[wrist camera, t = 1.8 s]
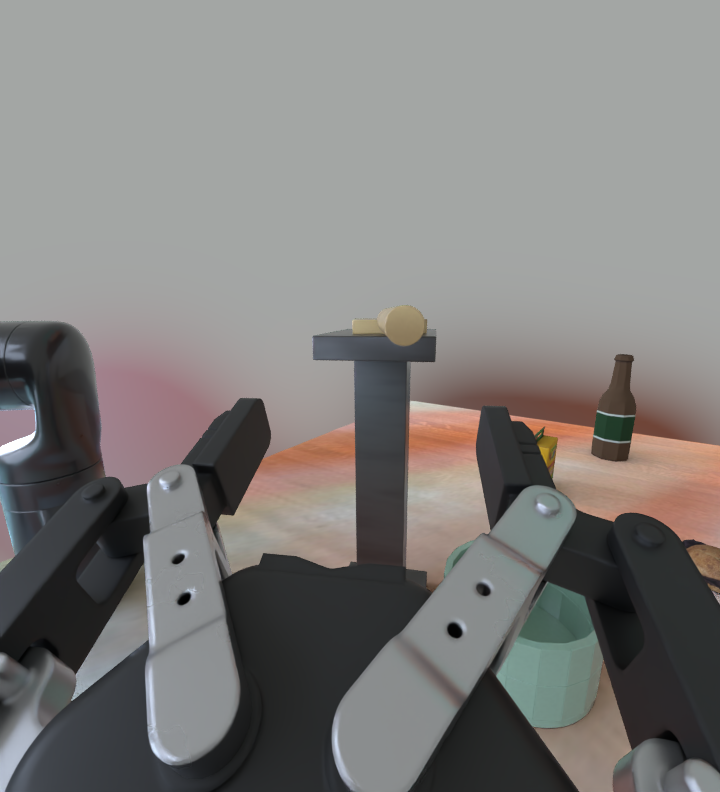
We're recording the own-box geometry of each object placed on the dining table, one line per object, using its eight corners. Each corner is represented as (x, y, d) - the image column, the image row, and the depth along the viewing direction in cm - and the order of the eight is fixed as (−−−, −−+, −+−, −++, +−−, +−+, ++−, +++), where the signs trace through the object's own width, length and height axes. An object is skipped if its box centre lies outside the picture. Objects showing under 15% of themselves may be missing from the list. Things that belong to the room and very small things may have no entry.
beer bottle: (619, 464, 81) (637, 358, 75) (583, 453, 87) (597, 354, 82) (635, 457, 85) (653, 355, 79) (599, 447, 91) (613, 352, 86)
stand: (350, 571, 48) (346, 329, 41) (426, 581, 46) (436, 329, 39) (324, 651, 37) (311, 335, 30) (423, 670, 35) (436, 336, 28)
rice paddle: (354, 330, 38) (354, 308, 38) (415, 329, 38) (416, 308, 38) (345, 346, 20) (344, 305, 19) (463, 345, 20) (466, 304, 19)
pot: (413, 632, 39) (415, 568, 37) (497, 579, 47) (502, 523, 45) (541, 770, 27) (553, 686, 25) (625, 668, 35) (639, 598, 33)
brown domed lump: (780, 587, 45) (788, 561, 44) (762, 617, 40) (771, 589, 40) (674, 542, 54) (679, 520, 53) (649, 562, 49) (655, 538, 48)
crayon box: (543, 497, 67) (550, 438, 64) (526, 493, 68) (532, 435, 66) (552, 483, 72) (559, 428, 69) (536, 479, 74) (543, 425, 71)
